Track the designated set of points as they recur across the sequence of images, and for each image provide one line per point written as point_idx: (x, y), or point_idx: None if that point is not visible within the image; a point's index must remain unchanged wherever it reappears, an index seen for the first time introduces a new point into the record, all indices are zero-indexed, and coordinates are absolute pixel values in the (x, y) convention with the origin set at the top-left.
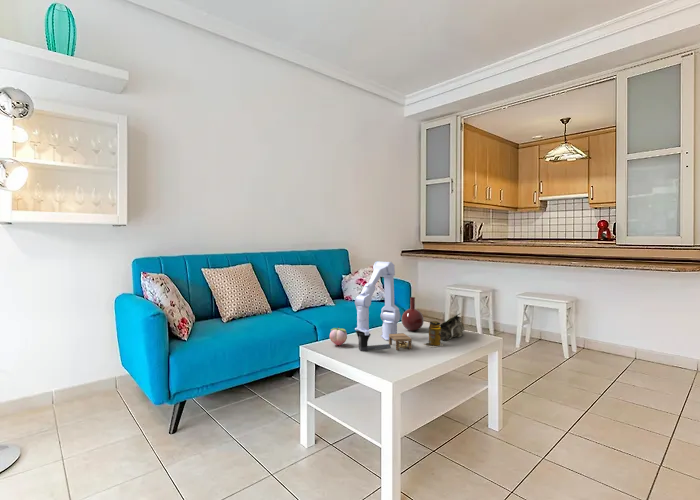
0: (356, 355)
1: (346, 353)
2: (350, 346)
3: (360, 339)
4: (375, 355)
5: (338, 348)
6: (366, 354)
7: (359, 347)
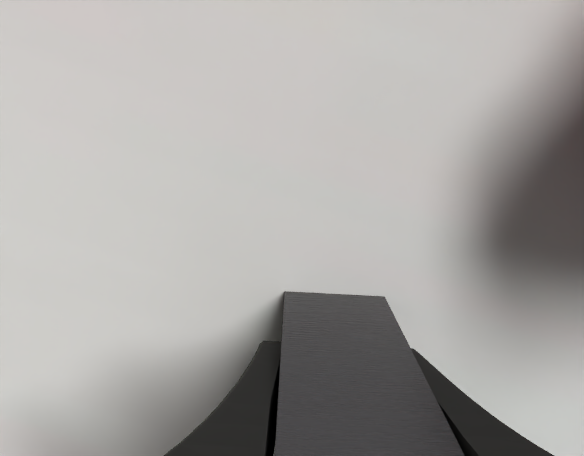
0: (114, 179)
1: (246, 61)
2: (564, 234)
3: (281, 417)
4: (72, 395)
5: (563, 8)
6: (131, 316)
7: (341, 313)
